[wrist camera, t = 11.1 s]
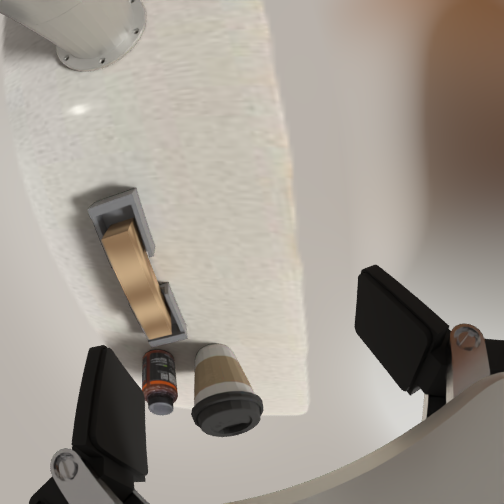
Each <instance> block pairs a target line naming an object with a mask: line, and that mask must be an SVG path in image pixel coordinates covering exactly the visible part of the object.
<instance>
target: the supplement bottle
mask: <svg viewBox="0 0 504 504" xmlns="http://www.w3.org/2000/svg"><path fill="white" fill-rule="evenodd" d="M142 391H143V393H144V397H145V401H147V402H148V406H149V407H148V408H149V410H150V412H152V413H154V414H156V415H167V414H170V413H171V412H172V411H173V403H174V402H175V401H176V400H177V397H178V393H177V383H176V373H175V362H174V358H173V356H172V355H171V354H170V353H168V352H166V351H163V350H152V351H149V352H147V353H146V354H145V355H144V357H143V365H142Z"/></svg>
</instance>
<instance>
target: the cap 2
mask: <svg viewBox="0 0 504 504" xmlns="http://www.w3.org/2000/svg"><path fill="white" fill-rule="evenodd" d="M159 286H160V289H161V291H162V293H163V296H164V298H165V300H166V303H167V305H168V307H169V310H170V312H171V330H172V334H171V335H167V336H163V337H159V338H154V339H150V340H149V338H148V337H147V335H146V333H145V331H144V329H143V328H142V326H141V324H140V322H139V320H138V318H137V316H136V314H135V313H134V311H133V309H132V307H131V305H130V303H129V306H130V308H131V309H132V311H133V313H134V315H135V317H136V319H137V321H138V323H139V325H140V326H141V328H142V330H143V332H144V334H145V335H146V337H147V339H148V343H149V344H150V346H151V347H155V346H159V345H163V344H168V343H172V342H176V341H180V340H184V339H188V338H187V329H186V323H185V321H184V319H183V316H182V314H181V312H180V309H179V307H178V304H177V302H176V300H175V297H174V295H173V292H172V290H171V287H170V285H169V282H168V283H164V284H161V285H159Z"/></svg>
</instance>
